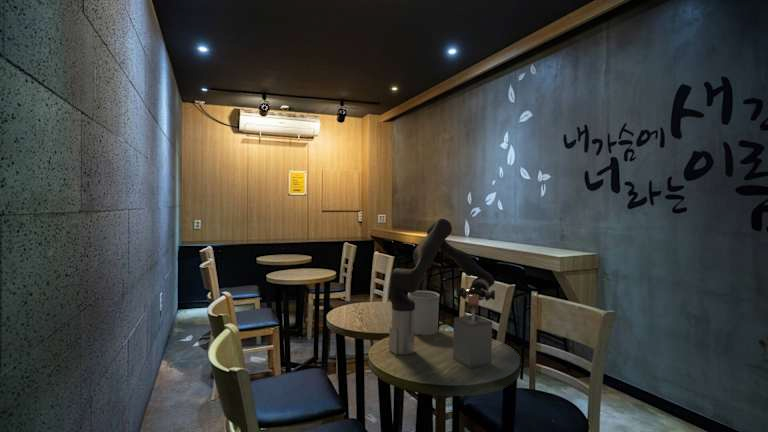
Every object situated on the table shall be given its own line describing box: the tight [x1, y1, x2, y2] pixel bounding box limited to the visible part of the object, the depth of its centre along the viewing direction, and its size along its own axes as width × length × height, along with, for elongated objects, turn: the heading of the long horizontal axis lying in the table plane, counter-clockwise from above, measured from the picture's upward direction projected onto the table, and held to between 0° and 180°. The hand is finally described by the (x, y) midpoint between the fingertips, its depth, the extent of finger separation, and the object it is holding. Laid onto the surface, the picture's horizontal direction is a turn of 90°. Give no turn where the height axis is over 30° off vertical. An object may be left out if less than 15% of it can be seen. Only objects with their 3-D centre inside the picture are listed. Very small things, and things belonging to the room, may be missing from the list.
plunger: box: [467, 294, 480, 321], centre depth 156 cm, size 8×8×23 cm
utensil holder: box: [407, 290, 441, 336], centre depth 193 cm, size 15×15×18 cm
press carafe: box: [452, 314, 493, 369], centre depth 156 cm, size 10×10×16 cm
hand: (475, 297), depth 161 cm, fingers open, 8 cm apart
